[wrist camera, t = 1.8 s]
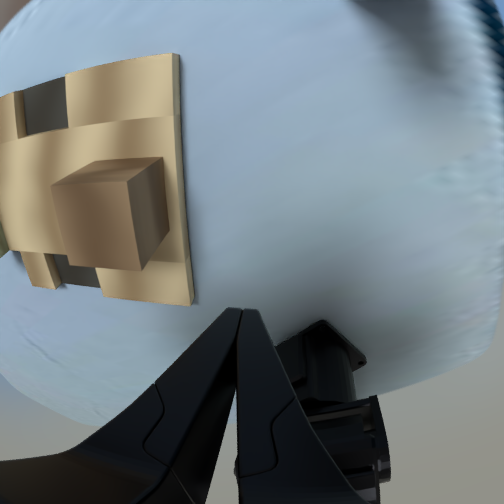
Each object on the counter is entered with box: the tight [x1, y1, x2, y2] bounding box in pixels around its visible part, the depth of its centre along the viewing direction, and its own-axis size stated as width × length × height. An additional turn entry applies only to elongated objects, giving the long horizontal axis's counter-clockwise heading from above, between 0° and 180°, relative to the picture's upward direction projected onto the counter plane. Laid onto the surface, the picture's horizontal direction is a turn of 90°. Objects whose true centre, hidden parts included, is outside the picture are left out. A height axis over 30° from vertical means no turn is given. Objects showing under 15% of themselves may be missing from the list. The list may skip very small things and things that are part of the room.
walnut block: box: [50, 157, 170, 271], centre depth 16 cm, size 4×4×4 cm
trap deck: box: [0, 53, 195, 306], centre depth 17 cm, size 18×16×4 cm
